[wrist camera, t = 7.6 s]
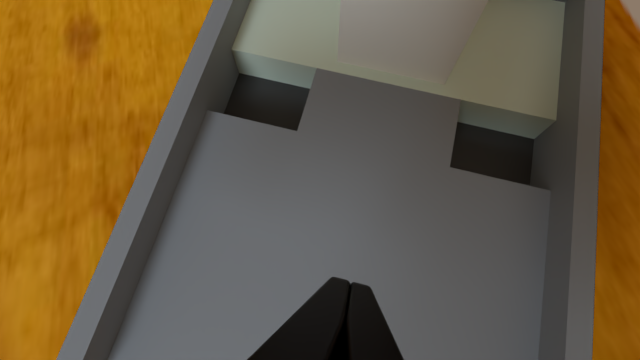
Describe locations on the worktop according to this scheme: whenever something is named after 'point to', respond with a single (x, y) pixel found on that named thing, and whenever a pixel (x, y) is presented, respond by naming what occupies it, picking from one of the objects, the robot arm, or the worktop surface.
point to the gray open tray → (363, 191)
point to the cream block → (407, 35)
